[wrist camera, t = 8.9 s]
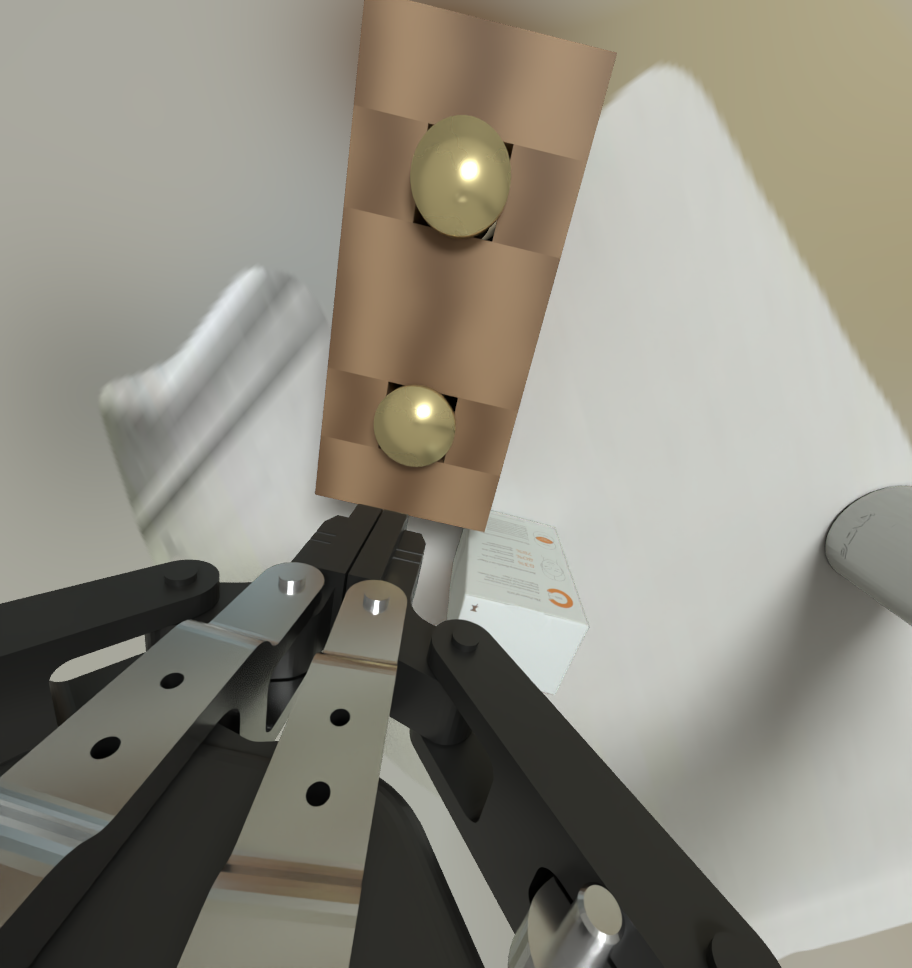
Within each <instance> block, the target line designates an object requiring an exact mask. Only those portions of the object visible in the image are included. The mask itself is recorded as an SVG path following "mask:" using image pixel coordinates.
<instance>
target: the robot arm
mask: <svg viewBox="0 0 912 968" xmlns="http://www.w3.org/2000/svg"><path fill="white" fill-rule="evenodd" d="M407 523H408V514H404V513H400V512H395V511H391V510H386V509H384V510H383V509H382V508H377V507H373V506H368V505H364V504H358V505H357V507H356V508H355V510H354V511H353V512H352V514H351V515H350V517H349V518H348V517H343V516H339V515H337V516H335V517H333V518H331V519H329V520H327V521H324V523H323V524H322V525H321V526H320V527H319V529H318V530H317V532H315V534H314V535H313V536H312V537H311V539H310V540H309V541H308V542H307V543H306V544H305V546H304V547H303V548H302V549H301V551H300V552H299V553H298V554H297V555H296V557H295V558H294V559H293V560H292V561H291V562H289V563H282V564H278V565H275V566H272V567H270V568H268V569H267V570H265V571H264V572H263V573H262V574H261V575H260V576H259V577H258V578H256V579H255V580H254V581H253V582H248V583H220V582H219V571H218V570H217V568H216V567H215V566H213V565H212V564H210V563H207V562H204V561H199V560H179V561H173V562H168V563H164V564H160V565H156V566H152V567H148V568H144V569H140V570H136V571H132V572H128V573H124V574H120V575H116V576H111V577H107V578H103V579H99V580H95V581H91V582H87V583H83V584H79V585H75V586H71V587H67V588H63V589H59V590H55V591H51V592H47V593H43V594H38V595H34V596H30V597H26V598H22V599H18V600H14V601H10V602H6V603H2V604H0V968H485V967H484V965H483V963H482V961H481V959H480V956H479V954H478V952H477V949H476V947H475V945H474V943H473V940H472V938H471V936H470V934H469V931H468V929H467V927H466V925H465V922H464V920H463V918H462V915H461V913H460V911H459V909H458V906H457V904H456V902H455V900H454V897H453V895H452V893H451V890H450V888H449V886H448V884H447V881H446V879H445V877H444V874H443V872H442V870H441V868H440V866H439V863H438V861H437V859H436V856H435V854H434V852H433V849H432V847H431V845H430V843H429V840H428V838H427V836H426V833H425V831H424V829H423V827H422V825H421V823H420V821H419V820H418V818H417V817H416V815H415V813H414V812H413V810H412V809H411V807H410V806H409V805H408V803H407V802H406V801H405V800H404V799H403V797H402V796H401V795H400V794H399V793H398V792H397V791H396V790H395V789H394V788H392V786H390V785H389V784H388V783H386V782H385V781H384V780H382V779H381V778H380V777H379V775H380V769H381V763H382V757H383V751H384V745H385V739H386V733H387V727H388V721H389V716H390V717H392V718H393V719H395V720H397V721H398V722H400V723H402V724H403V725H405V726H407V727H408V728H410V739H411V742H412V744H413V746H414V748H415V750H416V752H417V754H418V756H419V758H420V759H421V761H422V763H423V765H424V767H425V769H426V771H427V772H428V774H429V776H430V778H431V780H432V782H433V784H434V785H435V787H436V789H437V791H438V793H439V795H440V796H441V798H442V800H443V802H444V804H445V806H446V808H447V809H448V811H449V813H450V815H451V817H452V819H453V820H454V822H455V824H456V826H457V828H458V830H459V832H460V833H461V835H462V837H463V839H464V841H465V843H466V845H467V846H468V848H469V850H470V852H471V854H472V856H473V858H474V859H475V861H476V863H477V865H478V867H479V869H480V871H481V872H482V874H483V876H484V878H485V880H486V882H487V884H488V885H489V887H490V889H491V891H492V893H493V895H494V897H495V898H496V900H497V902H498V904H499V906H500V907H501V909H502V911H503V913H504V915H505V917H506V918H507V921H508V922H509V924H510V926H511V928H512V930H513V932H514V933H515V936H514V938H513V941H512V944H511V947H510V952H509V957H508V968H781V966H780V964H779V963H778V961H777V959H776V958H775V957H774V955H773V954H772V952H771V951H770V949H769V948H768V947H767V945H766V944H765V943H764V942H763V940H762V939H761V938H760V937H759V936H758V934H757V933H756V932H755V931H754V930H753V929H752V928H751V926H750V925H749V924H748V923H747V922H746V921H745V920H744V919H743V917H742V916H741V915H740V914H739V913H738V912H737V911H736V910H735V908H734V907H733V906H732V905H731V904H730V903H729V902H728V901H727V899H726V898H725V897H724V896H723V895H722V894H721V893H720V892H719V890H718V889H717V888H716V887H715V886H714V885H713V884H712V883H711V882H710V880H709V879H708V878H707V877H706V876H705V875H704V874H703V873H702V871H701V870H700V869H699V868H698V867H697V866H696V865H695V864H694V862H693V861H692V860H691V859H690V858H689V857H688V856H687V855H686V853H685V852H684V851H683V850H682V849H681V848H680V847H679V846H678V844H677V843H676V842H675V841H674V840H673V839H672V838H671V837H670V835H669V834H668V833H667V832H666V831H665V830H664V829H663V828H662V826H661V825H660V824H659V823H658V822H657V821H656V820H655V819H654V817H653V816H652V815H651V814H650V813H649V812H648V811H647V810H646V809H645V807H644V806H643V805H642V804H641V803H640V802H639V801H638V800H637V798H636V797H635V796H634V795H633V794H632V793H631V792H630V791H629V789H628V788H627V787H626V786H625V785H624V784H623V783H622V782H621V780H620V779H619V778H618V777H617V776H616V775H615V774H614V773H613V771H612V770H611V769H610V768H609V767H608V766H607V765H606V764H605V762H604V761H603V760H602V759H601V758H600V757H599V756H598V755H597V753H596V752H595V751H594V750H593V749H592V748H591V747H590V746H589V745H588V743H587V742H586V741H585V740H584V739H583V738H582V737H581V736H580V734H579V733H578V732H577V731H576V730H575V729H574V728H573V727H572V725H571V724H570V723H569V722H568V721H567V720H566V719H565V718H564V716H563V715H562V714H561V713H560V712H559V711H558V710H557V709H556V707H555V706H554V705H553V704H552V703H551V702H550V701H549V700H548V698H547V697H546V696H545V695H544V694H543V693H542V692H541V691H540V689H539V688H538V687H537V686H536V685H535V684H534V683H533V682H532V681H531V679H530V678H529V677H528V676H527V675H526V674H525V673H524V672H523V670H522V669H521V668H520V667H519V666H518V665H517V664H516V663H515V661H514V660H513V659H512V658H511V657H510V656H509V655H508V654H507V652H506V651H505V650H504V649H503V648H502V647H501V646H500V645H499V643H498V642H497V641H496V640H495V639H494V638H493V637H492V636H491V634H490V633H489V632H488V631H487V630H485V629H484V628H483V627H481V626H479V625H478V624H476V623H473V622H470V621H467V620H462V619H451V620H447V621H444V622H442V623H440V624H439V625H438V626H434V625H432V624H430V623H428V622H426V621H425V620H423V619H422V618H421V617H420V616H418V615H417V613H416V612H415V611H414V609H413V607H412V602H413V598H414V595H415V591H416V588H417V583H418V578H419V574H420V569H421V564H422V559H423V555H424V550H425V545H426V544H425V541H424V539H423V537H422V534H420V533H415V532H411V531H406V528H407ZM826 556H827V559H828V562H829V563H830V565H831V566H832V568H833V569H834V570H835V571H837V572H838V573H839V574H840V575H842V576H843V577H844V578H846V579H847V580H849V581H850V582H851V583H853V584H854V585H856V586H857V587H858V588H860V589H861V590H862V591H864V592H865V593H867V594H868V595H869V596H871V597H872V598H873V599H875V600H876V601H877V602H879V603H880V604H881V605H883V606H884V607H886V608H887V609H888V610H890V611H891V612H893V613H894V614H895V615H897V616H898V617H900V618H901V619H902V620H904V621H905V622H906V623H908V624H909V625H911V626H912V486H894V487H887V488H884V489H881V490H877V491H874V492H872V493H870V494H868V495H866V496H864V497H862V498H860V499H858V500H857V501H856V502H854V503H853V504H851V505H850V506H849V507H848V508H846V509H845V510H844V511H843V512H842V513H841V514H840V515H839V517H838V518H837V519H836V521H835V522H834V523H833V525H832V527H831V529H830V531H829V533H828V536H827V540H826ZM144 634H145V644H146V652H145V653H142V654H140V655H136V656H134V657H131V658H128V659H126V660H123V661H120V662H118V663H115V664H112V665H109V666H107V667H104V668H101V669H98V670H96V671H93V672H90V673H88V674H85V675H82V676H79V677H77V678H74V679H72V680H68V681H64V682H52V681H49V679H50V677H51V675H52V674H53V672H54V671H55V670H56V669H57V668H58V667H59V666H61V665H62V664H64V663H65V662H67V661H69V660H71V659H74V658H77V657H80V656H83V655H86V654H88V653H91V652H94V651H97V650H100V649H103V648H106V647H109V646H112V645H115V644H118V643H121V642H124V641H127V640H129V639H132V638H135V637H138V636H141V635H144ZM322 650H324V651H323V653H322ZM287 719H288V720H287ZM286 721H287V722H286ZM285 723H286V725H285V727H284V730H283V732H282V735H281V737H280V739H279V741H275V739H276V737H277V736H278V734H279V732H280V731H281V729H282V727H283V726H284V724H285Z"/></svg>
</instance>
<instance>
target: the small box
mask: <svg viewBox="0 0 912 968" xmlns="http://www.w3.org/2000/svg"><path fill="white" fill-rule="evenodd" d="M451 619H462V620H467V621H470V622H473V623H476V624H478V625H479V626H481V627H483V628H484V629H485V630H487V631H488V632H489V633H490V634H491V636H492V637H493V638H494V639H495V640H496V641H497V642H498V643H499V645H500V646H501V647H502V648H503V649H504V650H505V651H506V652H507V654H508V655H509V656H510V657H511V658H512V659H513V660H514V661H515V663H516V664H517V665H518V666H519V667H520V668H521V669H522V670H523V672H524V673H525V674H526V675H527V676H528V677H529V678H530V679H531V681H532V682H533V683H534V684H535V685H536V686H537V687H538V688H539V689H540V691H541V692H544V693H548V694H552V695H555V694H556V692H557V690H558V688H559V686H560V684H561V682H562V680H563V678H564V676H565V674H566V672H567V670H568V668H569V666H570V664H571V662H572V660H573V658H574V656H575V654H576V652H577V650H578V648H579V646H580V644H581V642H582V640H583V639H584V637H585V635H586V633H587V631H588V629H589V624H588V621H587V618H586V616H585V613H584V610H583V607H582V604H581V601H580V598H579V595H578V592H577V589H576V586H575V583H574V581H573V578H572V575H571V572H570V570H569V566H568V563H567V560H566V557H565V554H564V551H563V549H562V546H561V543H560V540H559V537H558V534H557V532H556V529H555V527H552V526H548V525H544V524H541V523H537V522H533V521H529V520H525V519H522V518H518V517H514V516H511V515H507V514H503V513H499V512H495V511H490V514H489V518H488V521H487V525H486V529H485V532H481V531H476V530H472V529H467V528H464V529H463V532H462V535H461V539H460V542H459V545H458V548H457V551H456V554H455V558H454V561H453V567H452V576H451V584H450V592H449V603H448V612H447V620H451Z"/></svg>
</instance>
